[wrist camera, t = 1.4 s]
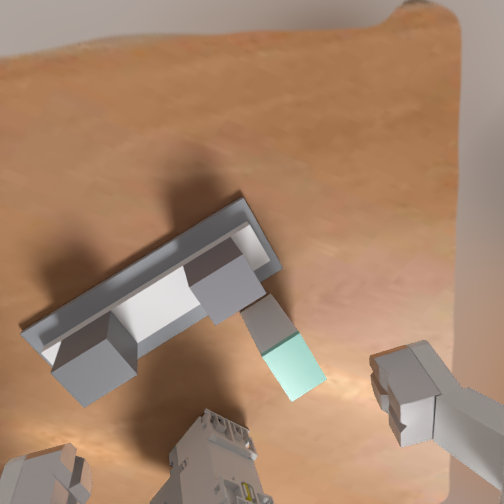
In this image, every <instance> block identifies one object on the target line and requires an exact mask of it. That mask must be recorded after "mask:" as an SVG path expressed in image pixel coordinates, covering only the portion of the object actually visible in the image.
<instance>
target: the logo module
mask: <svg viewBox="0 0 504 504" xmlns="http://www.w3.org/2000/svg"><path fill="white" fill-rule="evenodd" d="M240 314H241V316H242V318H243V320H244V322H245V324H246V326H247V328H248V330H249V332H250V334H251V336H252V338H253V340H254V342H255V344H256V346H257V348H258V350H259V352H260V354H261V356H262V358H263V359H264V361H265V362H266V364H267V365H268V367H269V368H270V370H271V371H272V373H273V374H274V376H275V377H276V379H277V380H278V382H279V383H280V385H281V386H282V388H283V389H284V391H285V392H286V394H287V395H288V397H289V398H290V400H291V401H292V402H293V401H294V400H296V399H297V398H299V397H300V396H302V395H303V394H305V393H307V392H308V391H310V390H311V389H313V388H314V387H316V386H317V385H319V384H320V383H322V382H324V381H325V380H327V378H326V377H325V375H324V373H323V372H322V370H321V368H320V367H319V365H318V363H317V362H316V360H315V358H314V356H313V355H312V353H311V351H310V350H309V348H308V346H307V345H306V343H305V341H304V339H303V338H302V336H301V334H300V333H299V331H298V330H297V329H296V327H295V326H294V324H293V323H292V322H291V320H290V319H289V318H288V316H287V315H286V313H285V312H284V311H283V309H282V308H281V307H280V305H279V304H278V302H277V301H276V300H275V298H274V297H273V295H272V294H269V295H268V296H266V297H264V298H263V299H261V300H260V301H258V302H256V303H255V304H253V305H252V306H250V307H248V308H247V309H245V310H244V311H242V312H240Z"/></svg>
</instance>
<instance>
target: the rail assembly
mask: <svg viewBox="0 0 504 504" xmlns="http://www.w3.org/2000/svg"><path fill="white" fill-rule="evenodd" d="M281 269H283V267H282V265H281V264H280V262H279V260H278V258H277V256H276V255H275V253H274V251H273V249H272V248H271V246H270V244H269V242H268V240H267V239H266V237H265V235H264V233H263V232H262V230H261V228H260V226H259V224H258V223H257V221H256V219H255V217H254V216H253V214H252V212H251V210H250V208H249V207H248V205H247V203H246V201H245V200H244V198H243V197H240V198H239V199H237V200H235V201H234V202H232V203H230V204H229V205H227V206H225V207H224V208H222V209H221V210H219V211H217V212H216V213H214V214H212V215H211V216H209V217H207V218H206V219H204V220H203V221H201V222H199V223H198V224H196V225H194V226H193V227H191V228H189V229H188V230H186V231H185V232H183V233H181V234H180V235H178V236H176V237H175V238H173V239H171V240H170V241H168V242H167V243H165V244H163V245H162V246H160V247H158V248H157V249H155V250H153V251H152V252H150V253H148V254H147V255H145V256H144V257H142V258H140V259H139V260H137V261H135V262H134V263H132V264H130V265H129V266H127V267H126V268H124V269H122V270H121V271H119V272H117V273H116V274H114V275H112V276H111V277H109V278H108V279H106V280H104V281H103V282H101V283H99V284H98V285H96V286H94V287H93V288H91V289H90V290H88V291H86V292H85V293H83V294H81V295H80V296H78V297H76V298H75V299H73V300H71V301H70V302H68V303H67V304H65V305H63V306H62V307H60V308H58V309H57V310H55V311H53V312H52V313H50V314H49V315H47V316H45V317H44V318H42V319H40V320H39V321H37V322H35V323H34V324H32V325H31V326H29V327H27V328H26V329H24V330H22V332H21V334H20V335H21V336H22V337H23V338H24V339H25V340H26V341H27V342H28V343H29V344H30V345H31V346H32V347H33V348H34V349H35V350H36V351H37V352H38V353H39V354H40V355H41V356H42V357H43V358H44V360H45V361H46V362H47V363H48V364H49V365H50V366H51V367H52V370H51V374H52V375H53V376H54V377H55V379H56V380H57V381H58V382H59V383H60V384H61V385H62V386H63V387H64V388H65V389H66V390H67V391H68V392H69V393H70V394H71V395H72V396H73V397H74V398H75V399H76V400H77V401H78V402H79V403H80V404H81V405H82V406H83V407H84V408H85V407H87V406H88V405H90V404H91V403H93V402H94V401H96V400H98V399H99V398H101V397H102V396H104V395H106V394H107V393H109V392H110V391H112V390H114V389H115V388H117V387H118V386H120V385H122V384H123V383H125V382H126V381H128V380H130V379H131V378H133V377H134V376H136V375H137V359H139V358H140V357H142V356H144V355H145V354H147V353H148V352H150V351H152V350H153V349H155V348H156V347H158V346H160V345H161V344H163V343H164V342H166V341H168V340H169V339H171V338H172V337H174V336H176V335H177V334H179V333H180V332H182V331H184V330H185V329H187V328H188V327H190V326H192V325H193V324H195V323H196V322H198V321H200V320H201V319H203V318H204V317H206V316H209V317H210V318H211V320H212V321H213V323H214V324H215V326H216V325H217V324H219V323H221V322H222V321H224V320H225V319H227V318H228V317H230V316H232V315H233V314H235V313H236V312H238V311H240V310H241V309H243V308H244V307H246V306H248V305H249V304H251V303H252V302H254V301H256V300H257V299H259V298H260V297H262V296H264V295H265V294H267V293H266V292H265V290H264V288H263V287H262V285H261V283H260V282H262V281H264V280H265V279H267V278H268V277H270V276H272V275H273V274H275V273H276V272H278V271H280V270H281Z"/></svg>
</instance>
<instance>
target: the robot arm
mask: <svg viewBox="0 0 504 504" xmlns="http://www.w3.org/2000/svg"><path fill="white" fill-rule="evenodd" d="M369 362H370V366H371V368H372V370H373V373H372V374H371V384H372V387H373V391H374V394H375V397H376V399H377V401H378V403H379V405H380V407H381V409H382V410H383V411H385V412H386V413H388V414H389V425H390V427H391V429H392V431H393V433H394V435H395V437H396V439H397V441H398V443H399V445H400V447H401V448H402V447H406V446H410V445H413V444H417V443H421V442H425V441H429V440H432V439H433V441H434V442H435V443H437V444H438V445H439V446H441V447H442V448H443V449H445V450H446V451H447V452H449V453H450V454H451V455H453V456H454V457H455V458H457V459H458V460H459V461H461V462H462V463H464V464H465V465H466V466H468V467H469V468H470V469H472V470H473V471H474V472H476V473H477V474H478V475H480V476H481V477H482V478H484V479H485V480H486V481H488V482H489V483H491V484H492V485H493V486H495V487H496V488H497V489H499V490H500V491H501V494H500V498H499V502H498V504H504V405H502V404H500V403H498V402H496V401H494V400H493V399H491V398H489V397H487V396H485V395H483V394H481V393H479V392H477V391H475V390H473V389H471V388H469V387H467V388H462V387H461V386H460V384H459V383H458V381H457V380H456V379H455V377H454V376H453V375H452V373H451V372H450V371H449V369H448V368H447V366H446V365H445V364H444V362H443V361H442V360H441V358H440V357H439V356H438V354H437V353H436V352H435V350H434V349H433V348H432V346H431V345H430V344H429V342H427V341H426V340H421V341H418V342H415V343H411V344H408V345H403V346H399V347H396V348H393V349H390V350H386V351H383V352H380V353H376V354H373V355H370V358H369ZM76 450H77V449H76V448H75V447H74V446H73V445H72V444H71V443H68V444H64V445H60V446H56V447H53V448H49V449H45V450H41V451H38V452H34V453H30V454H26V455H23V456H19V457H16V458H12V459H10V460H9V461H8V462H7V464H6V465H5V467H4V469H3V472H2V475H1V478H0V504H85V503H86V501H87V500H88V498H89V497H90V495H91V491H92V483H93V482H92V472H91V469H90V466H89V464H88V462H87V461H86V460H85V459H84V458H82V457H78V456H76Z"/></svg>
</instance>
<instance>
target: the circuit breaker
mask: <svg viewBox="0 0 504 504" xmlns="http://www.w3.org/2000/svg"><path fill="white" fill-rule="evenodd" d="M204 412H205V414H204V415H203V416H202V417H201V416H199V417H198V419H197V420H196V421H195V422H194V424H193V425H192V426H191V427H190V428H189V430H188V431H187V432H186V433H185V435H184V436H183V437H182V438H181V439H180V441H179V442H178V443H177V444H176V446H175V447H174V448H173V449H172V450H171V452H170V453H169V464H170V466H172V469H170V478H169V479H168V481H167V482H166V483H165V484H164V485H163V487H162V488H161V489H160V490H159V492H158V493H157V494H156V495H155V496H154V498H153V499H152V500H151V501H150V504H274V501H273V498H272V497H271V496H269V495H267V494H264V492H263V489H262V486H261V483H260V480H259V477H258V474H257V471H256V467H255V464H254V461H253V460H255V459H256V457H257V452H256V449H255V446H254V443H253V440H252V438H251V437H249V434H248V433H249V432H250V431H249V430H248V429H246V428H244V427H242V426H240V425H238V424H236V423H234V422H232V421H230V420H228V419H226V418H224V417H222V416H220V415H218V414H216V413H214V412H212V411H210V410H208V409H207V408H206V409H205V410H204ZM211 416H212V418H211ZM218 419H220V420H221V421H218ZM235 427H236V428H237V429H235ZM249 444H250V447H249V448H248V449H247V448H246V447H247V446H248V445H249Z"/></svg>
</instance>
